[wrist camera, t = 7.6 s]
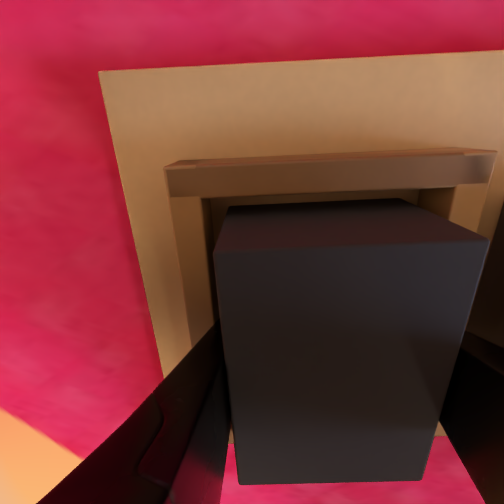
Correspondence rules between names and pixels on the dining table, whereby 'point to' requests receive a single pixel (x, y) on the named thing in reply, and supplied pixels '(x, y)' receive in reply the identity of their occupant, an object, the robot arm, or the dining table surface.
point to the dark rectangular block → (340, 335)
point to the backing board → (302, 161)
